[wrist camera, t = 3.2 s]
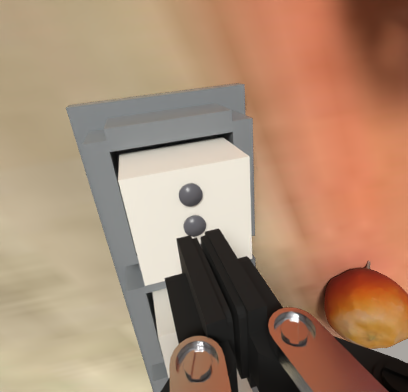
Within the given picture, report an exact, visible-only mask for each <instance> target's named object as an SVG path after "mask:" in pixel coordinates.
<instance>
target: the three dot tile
mask: <svg viewBox="0 0 408 392" xmlns="http://www.w3.org/2000/svg"><path fill="white" fill-rule="evenodd" d="M118 182H119V186H120V190H121V194H122V198H123V202H124V206H125V210H126V214H127V218H128V221H129V225H130V229H131V233H132V237H133V241H134V245H135V249H136V253H137V257H138V260H139V264H140V268H141V272H142V276H143V280H144V284H145V286H147V285H151V284H155V283H159V282H163V281H165V278H166V277H170V276H174V275H178V274H181V273H182V270H181V264H180V258H179V252H178V246H177V240H176V239H177V238H180V237H185V236H189V235H191V237H192V238H197V239H198V241H199V243H200V246H201V239H200V238H201V236H205V231H210V230H214V229H218V228H219V229H220V231H221V232H222V234H223V235H224V237H225V239H226V240H227V242H228V243H229V245H230V247H231V248H232V250H233V252H234V253H235V255H236V256H237V258H241V257H245V256H247V257H248V258H249V259H252V231H251V193H250V156H248V155H247V154H245V153H244V152H243V151H241V150H240V149H239V148H237V147H236V146H234V145H233V144H232V143H230V142H229V141H227V140H226V139H225V138H223V137H221V138H215V139H209V140H203V141H197V142H191V143H185V144H179V145H173V146H167V147H161V148H155V149H149V150H143V151H137V152H131V153H125V154H119V172H118ZM201 248H202V247H201Z"/></svg>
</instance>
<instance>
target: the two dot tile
mask: <svg viewBox="0 0 408 392" xmlns="http://www.w3.org/2000/svg"><path fill="white" fill-rule="evenodd" d="M153 300H154V308H155V316H156V324H157V332H158V339H159V342H160V346H161V350H162V354H163V358H164V362H165V366H166V370H167V374H168V378H169V377H170V372H169V365H170V358H171V355H172V353H173V351H174V349H175V348H176V347H177V346H178V345H179V344H178V339H177V334H176V330H175V325H174V320H173V316H172V311H171V306H170V302H169V297H168V292H167V288H165V289H161V290H157V291H154V292H153ZM237 374H239V373H238V371H237Z"/></svg>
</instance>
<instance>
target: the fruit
mask: <svg viewBox="0 0 408 392" xmlns="http://www.w3.org/2000/svg"><path fill="white" fill-rule="evenodd" d="M325 313H326V317H327V320H328V322H329V324H330V326H331V327H332V328H333V329H334V330H335V331H336V332H337V333H338V334H339V335H341V336H342V337H343V338H345V339H346V340H348V341H349V342H351V343H354V344H357V345H360V346H363V347H365V348H372V349H376V348H387V347H391V346H393V345H395V344H397V343H399V342H401V341H403V340H405V339H408V294H407V293H406V292H405V291H404V290H403V289H402V288H401V287H400V286H399V285H398V284H397V283H396V282H395V281H393V280H392V279H390V278H388V277H387V276H385V275H383V274H381V273H378V272H377V271H374V270H371V269H370V262H369V261H368V263H367V266H366V268H358V269H352V270H348V271H346V272H344V273H342V274H340V275H338V276H336V277H334V278H332V279H331V280H330V281H329V283H328V285H327V287H326V292H325Z"/></svg>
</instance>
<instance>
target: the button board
mask: <svg viewBox="0 0 408 392" xmlns="http://www.w3.org/2000/svg"><path fill="white" fill-rule="evenodd" d="M66 110H67V113H68V116H69V119H70V123H71V126H72V129H73V132H74V136H75V139H76V142H77V145H78V149H79V152H80V155H81V158H82V162H83V165H84V168H85V171H86V175H87V178H88V181H89V184H90V188H91V191H92V194H93V197H94V201H95V204H96V207H97V210H98V214H99V217H100V220H101V223H102V227H103V230H104V233H105V236H106V240H107V243H108V246H109V249H110V253H111V256H112V259H113V262H114V266H115V269H116V272H117V275H118V279H119V282H120V285H121V288H122V292H123V295H124V298H125V301H126V305H127V308H128V311H129V314H130V318H131V321H132V324H133V327H134V331H135V334H136V337H137V340H138V344H139V347H140V350H141V353H142V357H143V360H144V363H145V366H146V370H147V373H148V376H149V379H150V383H151V386H152V389H153V392H161V390H162V389H163V387H164V385H165V384H166V382H167V381H168V379H169V378H168V374H167V370H166V366H165V362H164V358H163V354H162V350H161V346H160V342H159V339H158V332H157V324H156V316H155V308H154V300H153V292H154V291H157V290H161V289H165V288H166V283H165V281H163V282H159V283H155V284H151V285H147V286H145V284H144V280H143V276H142V272H141V268H140V264H139V260H138V257H137V253H136V249H135V245H134V241H133V237H132V233H131V229H130V225H129V221H128V218H127V214H126V210H125V206H124V202H123V198H122V194H121V190H120V186H119V182H118V172H119V154H125V153H131V152H137V151H143V150H149V149H155V148H161V147H167V146H173V145H179V144H185V143H191V142H197V141H203V140H209V139H215V138H221V137H223V138H225V139H226V140H227V141H229V142H230V143H232V144H233V145H234V146H236V147H237V148H239V149H240V150H241V151H243V152H244V153H245V154H247V155H248V156H250V193H251V231H252V236H255V220H254V170H253V121H252V118H251V117H249V116H246V115H245V89H244V84H239V83H236V84H229V85H221V86H213V87H206V88H198V89H190V90H183V91H175V92H167V93H159V94H152V95H144V96H136V97H129V98H121V99H113V100H106V101H98V102H90V103H83V104H75V105H69V106H68V107H66ZM250 260H251V261H252V263H253V264H254V266H255V257H254V256H253V254H252V259H250ZM251 389H252V391H253V392H258V389H257V386H256V387H253V388H251Z"/></svg>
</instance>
